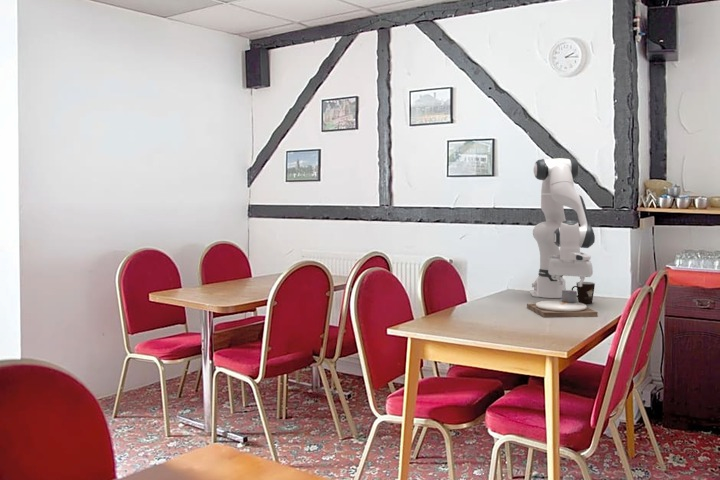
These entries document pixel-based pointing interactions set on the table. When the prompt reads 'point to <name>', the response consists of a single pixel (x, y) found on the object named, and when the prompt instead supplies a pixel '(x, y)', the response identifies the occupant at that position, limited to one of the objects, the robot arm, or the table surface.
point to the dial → (563, 303)
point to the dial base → (562, 312)
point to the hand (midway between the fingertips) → (570, 285)
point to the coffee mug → (585, 292)
